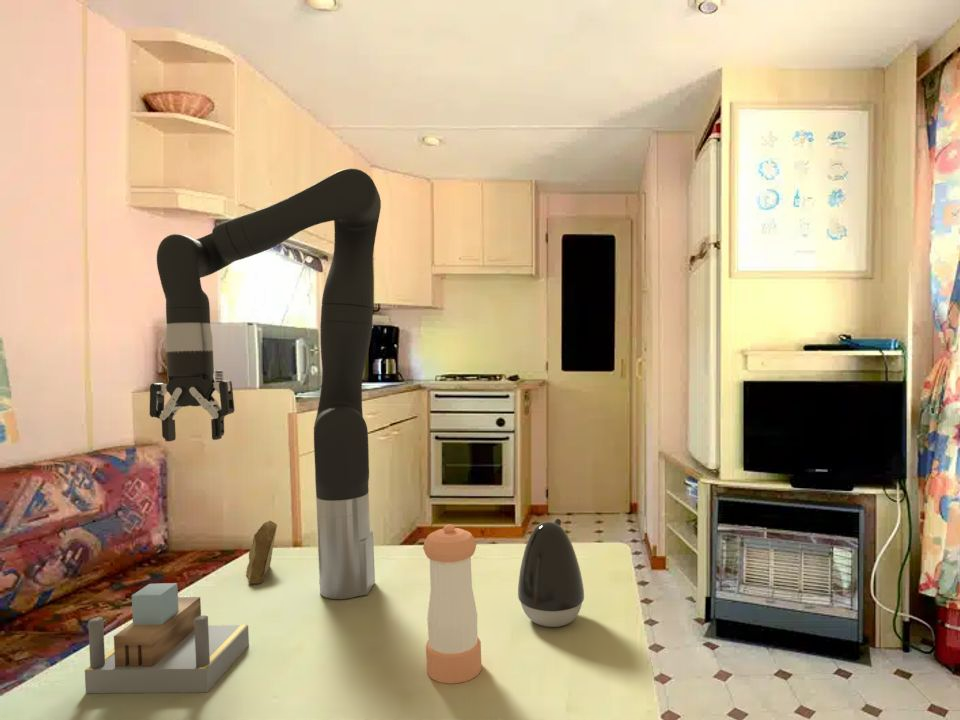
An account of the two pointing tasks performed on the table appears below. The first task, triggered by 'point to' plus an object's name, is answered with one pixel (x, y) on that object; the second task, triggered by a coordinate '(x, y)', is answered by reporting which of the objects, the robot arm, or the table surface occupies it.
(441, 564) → the salt shaker
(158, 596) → the pale blue cube
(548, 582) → the dark grey egg shape
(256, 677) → the table surface
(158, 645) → the pallet
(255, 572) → the rock
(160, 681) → the dock
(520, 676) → the table surface
